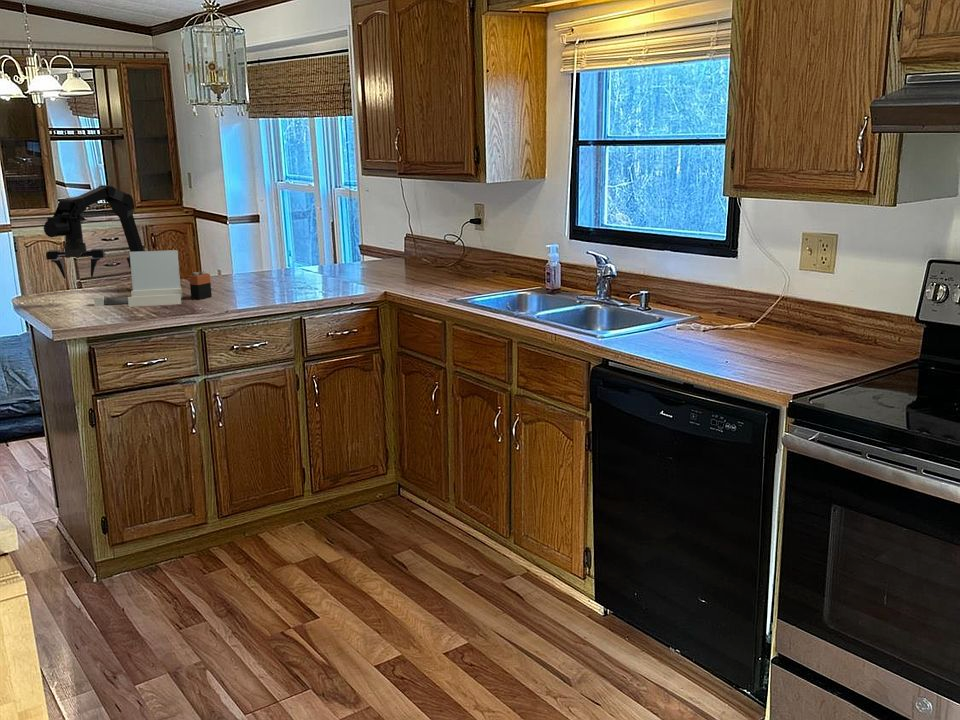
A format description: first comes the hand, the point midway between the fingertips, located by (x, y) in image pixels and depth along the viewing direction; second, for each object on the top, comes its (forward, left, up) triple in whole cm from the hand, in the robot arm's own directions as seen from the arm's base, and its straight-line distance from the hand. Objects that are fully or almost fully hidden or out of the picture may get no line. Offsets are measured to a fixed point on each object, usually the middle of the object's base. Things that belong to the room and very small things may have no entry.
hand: (78, 278), depth 310 cm
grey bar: (0, +12, -10) cm, 15 cm away
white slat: (-1, +26, -10) cm, 27 cm away
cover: (-9, +26, 0) cm, 27 cm away
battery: (-4, +42, -11) cm, 43 cm away
